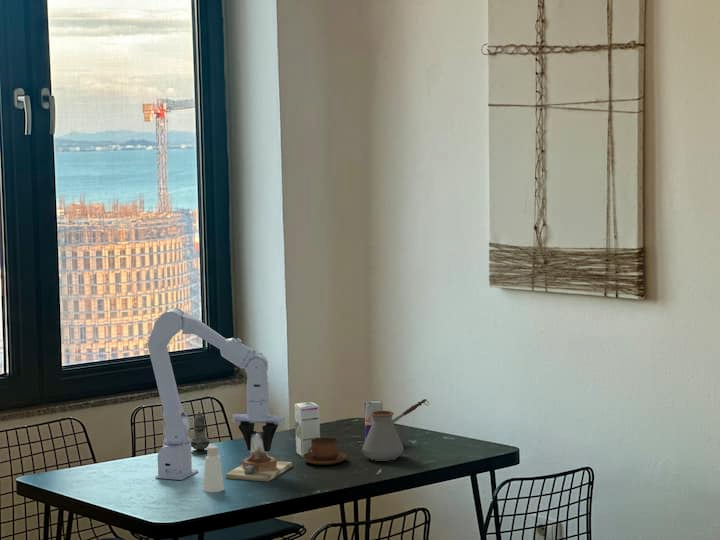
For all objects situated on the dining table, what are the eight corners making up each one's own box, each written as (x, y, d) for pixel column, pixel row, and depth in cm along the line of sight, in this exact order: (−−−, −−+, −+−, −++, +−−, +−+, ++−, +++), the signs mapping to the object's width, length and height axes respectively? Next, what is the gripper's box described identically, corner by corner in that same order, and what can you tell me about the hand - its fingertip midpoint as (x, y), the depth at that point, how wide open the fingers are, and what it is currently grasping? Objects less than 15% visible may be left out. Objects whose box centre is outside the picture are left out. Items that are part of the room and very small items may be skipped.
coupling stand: (267, 481, 293) (267, 468, 292) (225, 478, 297) (225, 465, 296) (292, 466, 308) (291, 454, 307) (251, 463, 312) (251, 451, 311)
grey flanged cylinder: (200, 455, 322) (198, 414, 321) (185, 453, 325) (184, 412, 324) (214, 451, 326) (213, 410, 325) (200, 449, 330) (199, 408, 329)
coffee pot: (377, 465, 307) (376, 411, 306) (354, 457, 316) (353, 404, 315) (440, 454, 318) (439, 401, 317) (416, 446, 328) (415, 395, 327)
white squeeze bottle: (209, 494, 282) (208, 450, 281) (198, 489, 286) (197, 446, 285) (228, 490, 285) (227, 447, 284) (217, 485, 289) (216, 443, 288)
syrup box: (321, 455, 319) (320, 404, 318) (301, 457, 317) (300, 406, 316) (314, 451, 325) (313, 401, 324) (295, 453, 323) (293, 403, 322)
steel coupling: (270, 456, 303) (269, 430, 302) (261, 459, 299) (261, 433, 298) (256, 454, 304) (255, 429, 304) (247, 458, 301) (246, 432, 300)
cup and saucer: (335, 469, 304) (334, 446, 304) (295, 465, 309) (294, 443, 309) (353, 459, 315) (353, 437, 315) (315, 455, 320) (314, 434, 320)
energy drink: (362, 440, 337) (362, 400, 336) (380, 439, 339) (379, 399, 338) (368, 444, 332) (367, 403, 331) (385, 442, 334) (385, 402, 333)
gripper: (288, 398, 302) (290, 448, 303) (239, 395, 307) (240, 445, 308) (278, 403, 295) (279, 454, 296) (227, 400, 300) (229, 451, 301)
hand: (259, 450), depth 302 cm, fingers closed on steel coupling, 4 cm apart
